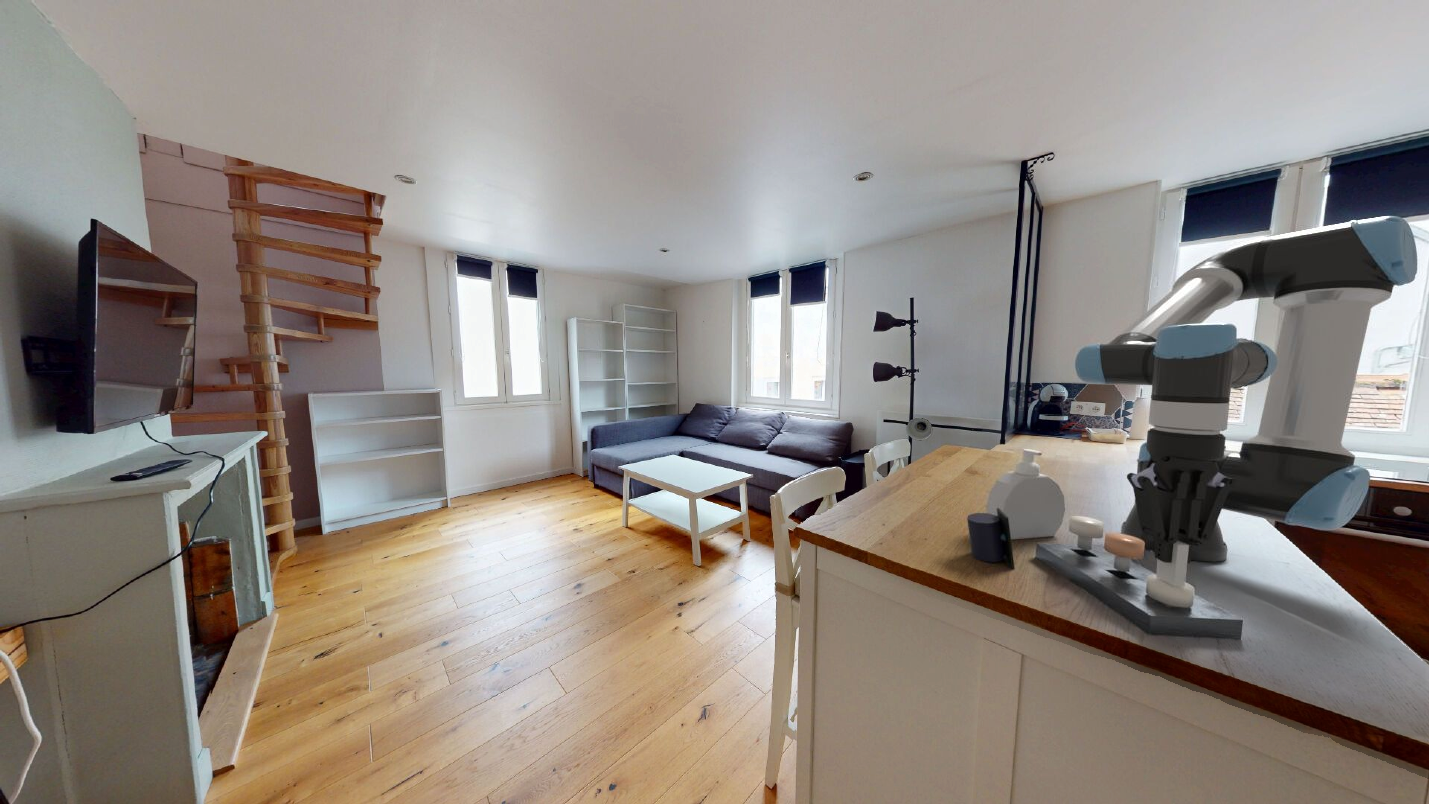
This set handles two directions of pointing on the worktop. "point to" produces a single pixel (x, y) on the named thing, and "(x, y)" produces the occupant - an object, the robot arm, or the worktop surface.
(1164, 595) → the knob
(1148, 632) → the mount
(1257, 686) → the worktop surface
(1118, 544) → the knob middle
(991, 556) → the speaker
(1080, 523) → the knob
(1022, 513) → the soap bottle
